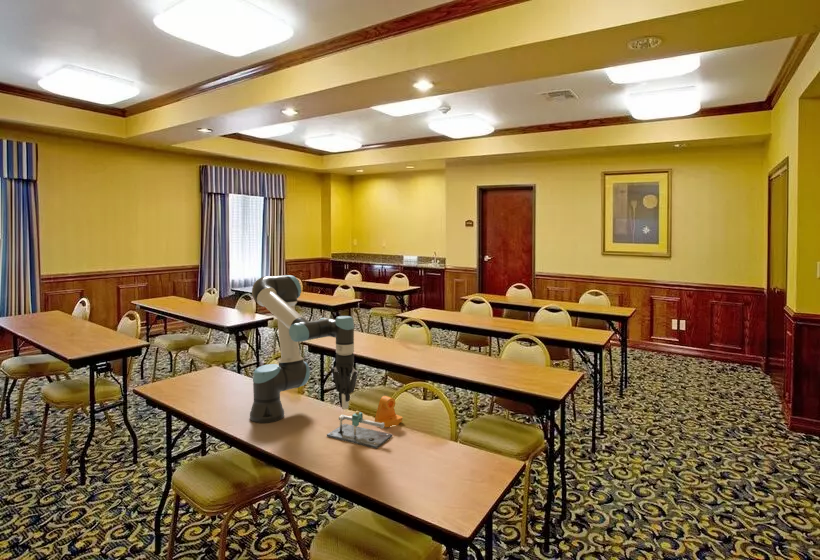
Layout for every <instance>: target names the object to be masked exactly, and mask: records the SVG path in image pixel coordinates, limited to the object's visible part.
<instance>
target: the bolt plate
mask: <svg viewBox="0 0 820 560" xmlns="http://www.w3.org/2000/svg"><path fill="white" fill-rule="evenodd" d="M326 437H328V438H331V439H335V440H339V441H343V442H346V443H352V444H355V445H359V446H363V447H367V448H372V449H376V450H377V449H378V448H379V447H381V446H382V445H384V444H385V443H386V442H387V441H389V440H390V439H392V438H393V434H392V433H387V432H382V431H378V430H374V429H369V428H365V427H362V426H356V435H354V425H352V424H348V423H342V433H340V426H339V427H337V428H334V429H333V430H331V431H330V432H329V433H327V434H326ZM388 439H389V440H388Z"/></svg>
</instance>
